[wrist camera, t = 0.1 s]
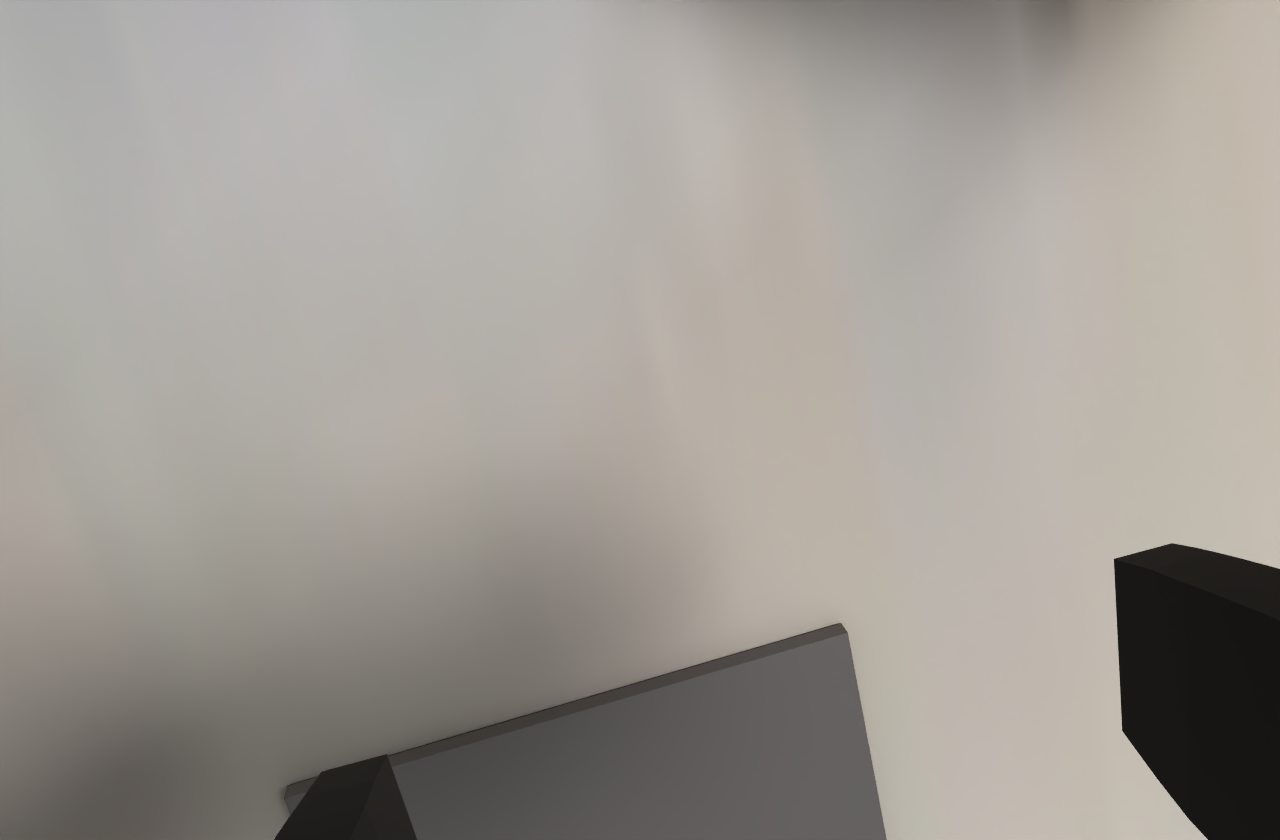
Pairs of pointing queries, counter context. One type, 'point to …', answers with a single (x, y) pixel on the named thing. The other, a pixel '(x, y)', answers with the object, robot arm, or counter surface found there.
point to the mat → (665, 759)
